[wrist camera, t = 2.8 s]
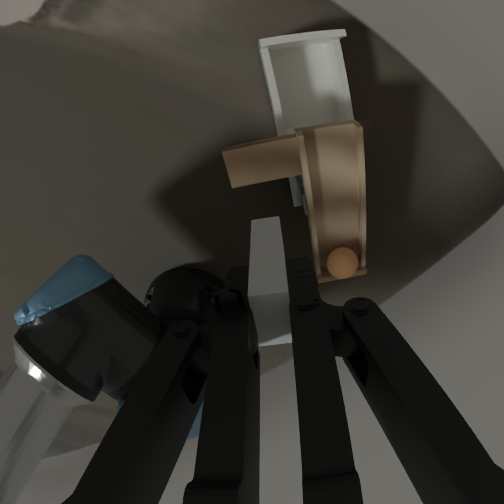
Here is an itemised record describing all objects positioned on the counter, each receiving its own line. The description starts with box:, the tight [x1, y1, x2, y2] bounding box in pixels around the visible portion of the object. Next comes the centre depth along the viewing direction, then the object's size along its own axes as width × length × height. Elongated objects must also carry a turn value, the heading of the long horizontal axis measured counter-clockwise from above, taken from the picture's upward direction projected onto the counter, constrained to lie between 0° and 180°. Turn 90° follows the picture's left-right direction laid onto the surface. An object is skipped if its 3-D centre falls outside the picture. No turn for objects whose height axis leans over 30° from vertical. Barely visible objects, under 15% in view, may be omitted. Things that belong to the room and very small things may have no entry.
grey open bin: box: [258, 29, 354, 136], centre depth 32 cm, size 9×12×8 cm
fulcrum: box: [289, 175, 308, 215], centre depth 38 cm, size 6×8×8 cm
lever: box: [222, 120, 367, 284], centre depth 34 cm, size 18×13×5 cm
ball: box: [327, 247, 358, 279], centre depth 36 cm, size 4×4×4 cm
